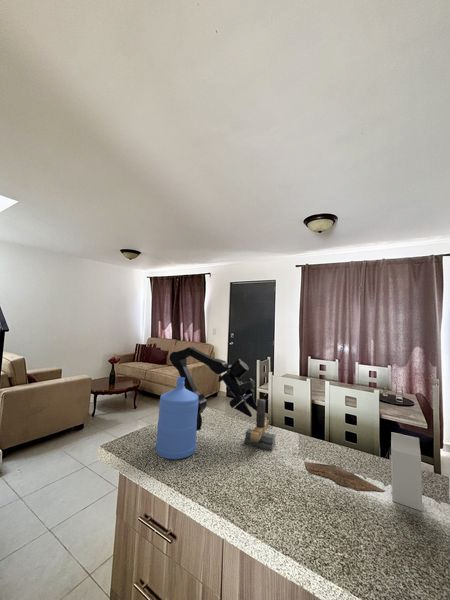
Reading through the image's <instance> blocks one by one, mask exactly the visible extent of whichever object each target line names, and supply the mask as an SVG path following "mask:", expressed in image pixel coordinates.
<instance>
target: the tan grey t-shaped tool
mask: <svg viewBox="0 0 450 600" xmlns="http://www.w3.org/2000/svg"><path fill="white" fill-rule="evenodd" d="M256 405H257V411H256V422H255V425H256V426H255V427H254V428H253V429H252V430H253V431H252V432H251V438H250V441H254V442H258V441H259V440H260V438H261V437H262V435H263V434H264V433H266V431H267V430H268V428H269V426H270V425H269V422H270V420H269V419H266V399H264V398H258V399H257V400H256Z"/></svg>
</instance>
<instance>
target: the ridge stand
mask: <svg viewBox="0 0 450 600" xmlns="http://www.w3.org/2000/svg"><path fill="white" fill-rule="evenodd" d="M253 430H254V429H251V428H248V429H247V430H246V431H245V437H244V444H245V445H249V446H253V447H256V448H261V449H265V450H268V451H272V452H273V449H274V447H276V434H273V433H270V432H265V433H264V434H263V435H262V437H261V438H260V440H259V441H258V442H254V441H250V438H251V432H252V431H253Z"/></svg>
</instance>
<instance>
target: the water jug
mask: <svg viewBox="0 0 450 600" xmlns="http://www.w3.org/2000/svg"><path fill="white" fill-rule="evenodd" d="M176 379H177V380H176V387H175V388H173V389H170V390H169V391H167V392H163V393H162V394H161V395H160V398H159V402H158V403H159V404H158V409H159V410H158V419H157V420H158V421H157V433H156V434H157V435H156V443H155V453H156V454H157V455H158V457H161V458H163V459H166V460H182V459H186V458H188V457H190V456H191V455H193V454H194V452H195V451H196V449H197V442H196V441H197V430H196V429H197V413H198V403H199V401H198V395H197V394H195V393H193V392H191V391H189V390H187V389H186V388H185V386H184V383H185V382H184V379H185V378H184V377H181V376H179V377H177V378H176Z"/></svg>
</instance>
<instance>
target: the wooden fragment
mask: <svg viewBox="0 0 450 600" xmlns="http://www.w3.org/2000/svg"><path fill="white" fill-rule="evenodd" d="M304 467H305V468H306V471H307V472H308V474H314V475H316V476H321V477H322V478H325V479H329V480H331V481H333V482H334V483H336V484H339V485H340V486H345V487H348V488H351V489H354V490H355V491H357V492H376V491H377V492H379V493H384V492H386V490H384V489H382V488H380V487H379V486H376V485H374V484H373V483H371V482H369V481H368V480H365V479H363V478H361V477H360V476H358V475H356V474H354V473H352V472H350V471H348V470H346V469H344V468H342V467H339V466H337V465H333V464H325V463H317V462H310V461H304Z"/></svg>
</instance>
